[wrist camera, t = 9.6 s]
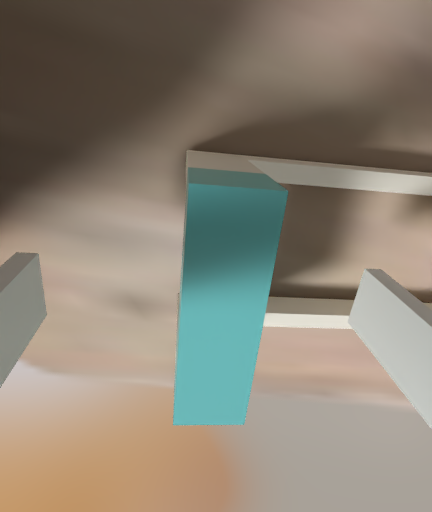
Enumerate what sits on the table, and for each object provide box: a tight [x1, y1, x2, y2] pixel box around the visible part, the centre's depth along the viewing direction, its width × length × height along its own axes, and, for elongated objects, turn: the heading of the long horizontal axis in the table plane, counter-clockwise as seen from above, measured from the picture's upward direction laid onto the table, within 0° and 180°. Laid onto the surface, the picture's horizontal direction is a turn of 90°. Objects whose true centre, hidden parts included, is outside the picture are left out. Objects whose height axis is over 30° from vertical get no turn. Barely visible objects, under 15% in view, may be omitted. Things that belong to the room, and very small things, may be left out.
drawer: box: [173, 150, 432, 425], centre depth 17 cm, size 24×10×9 cm, turn 84°
